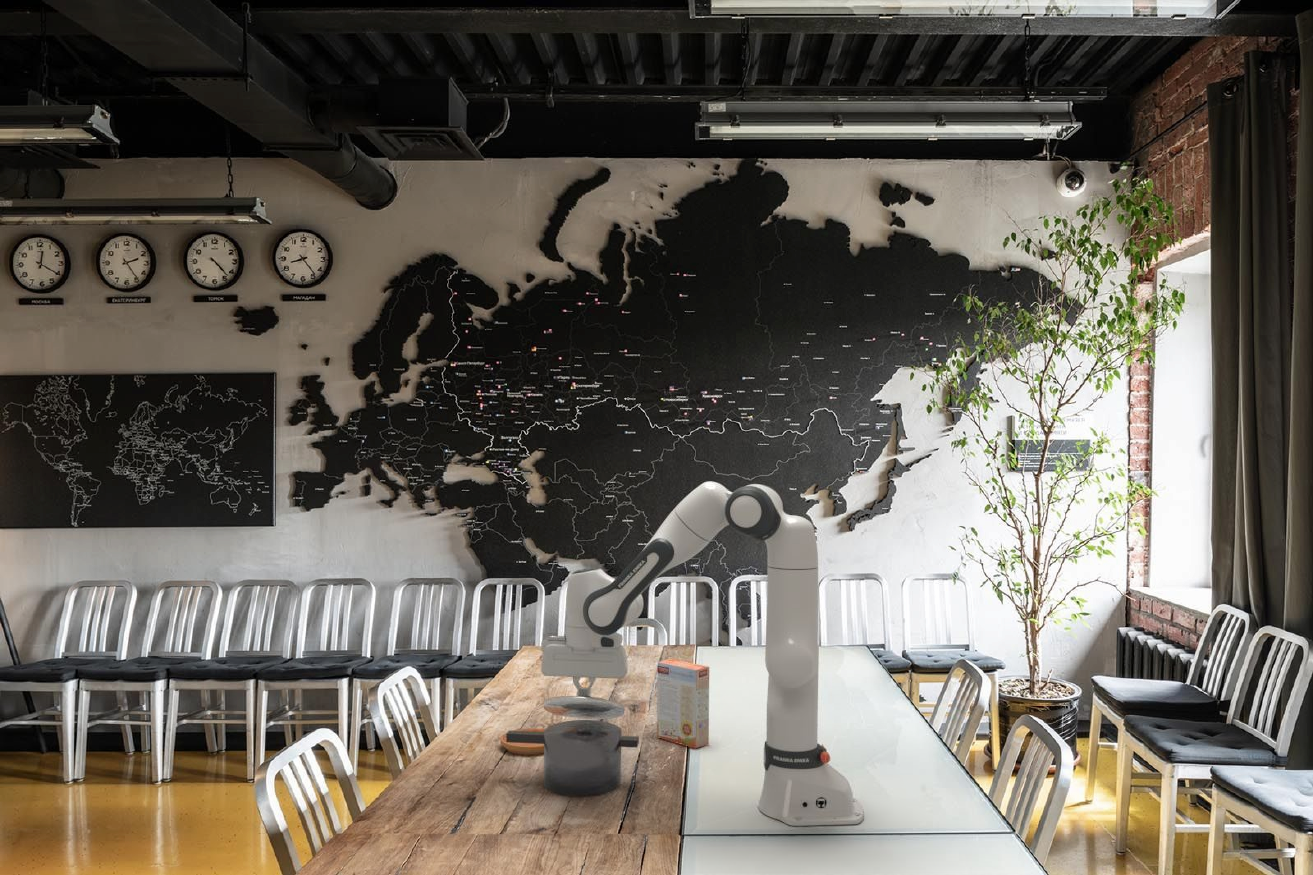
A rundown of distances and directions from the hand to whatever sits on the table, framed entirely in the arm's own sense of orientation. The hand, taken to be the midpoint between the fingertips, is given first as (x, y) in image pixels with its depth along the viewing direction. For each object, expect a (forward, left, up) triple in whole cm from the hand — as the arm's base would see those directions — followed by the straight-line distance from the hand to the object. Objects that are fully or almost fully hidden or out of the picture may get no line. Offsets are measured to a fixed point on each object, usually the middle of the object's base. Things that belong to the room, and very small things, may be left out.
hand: (584, 695), depth 219 cm
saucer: (+18, -23, -21) cm, 36 cm away
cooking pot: (+2, +1, -20) cm, 20 cm away
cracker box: (-21, -33, -20) cm, 44 cm away
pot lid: (0, 0, -4) cm, 4 cm away
